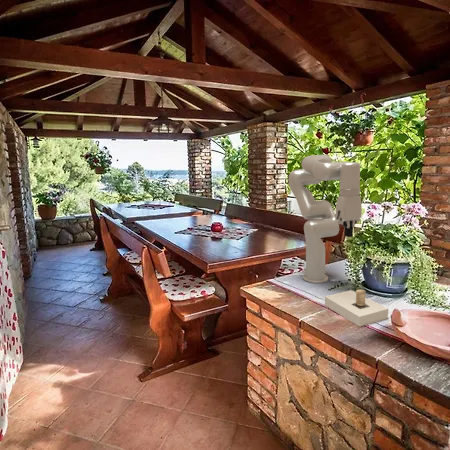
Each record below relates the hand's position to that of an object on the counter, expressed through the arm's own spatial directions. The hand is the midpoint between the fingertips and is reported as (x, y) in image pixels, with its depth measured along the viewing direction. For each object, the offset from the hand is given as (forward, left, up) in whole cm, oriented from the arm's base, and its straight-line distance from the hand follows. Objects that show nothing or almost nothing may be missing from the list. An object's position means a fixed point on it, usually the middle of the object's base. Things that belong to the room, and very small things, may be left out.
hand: (348, 236), depth 135 cm
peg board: (+9, -4, -29) cm, 31 cm away
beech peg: (+12, -4, -29) cm, 32 cm away
